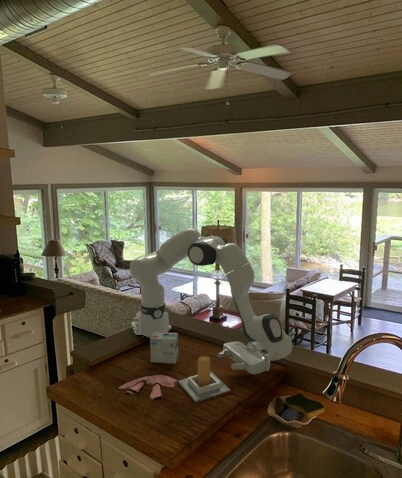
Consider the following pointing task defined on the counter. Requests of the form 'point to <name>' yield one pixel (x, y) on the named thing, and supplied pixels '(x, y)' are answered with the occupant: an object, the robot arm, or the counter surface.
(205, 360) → the tapered orange cylinder
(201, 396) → the cylinder holder
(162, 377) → the cloth
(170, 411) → the counter surface
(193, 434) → the counter surface
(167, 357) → the light bulb box
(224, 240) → the robot arm
